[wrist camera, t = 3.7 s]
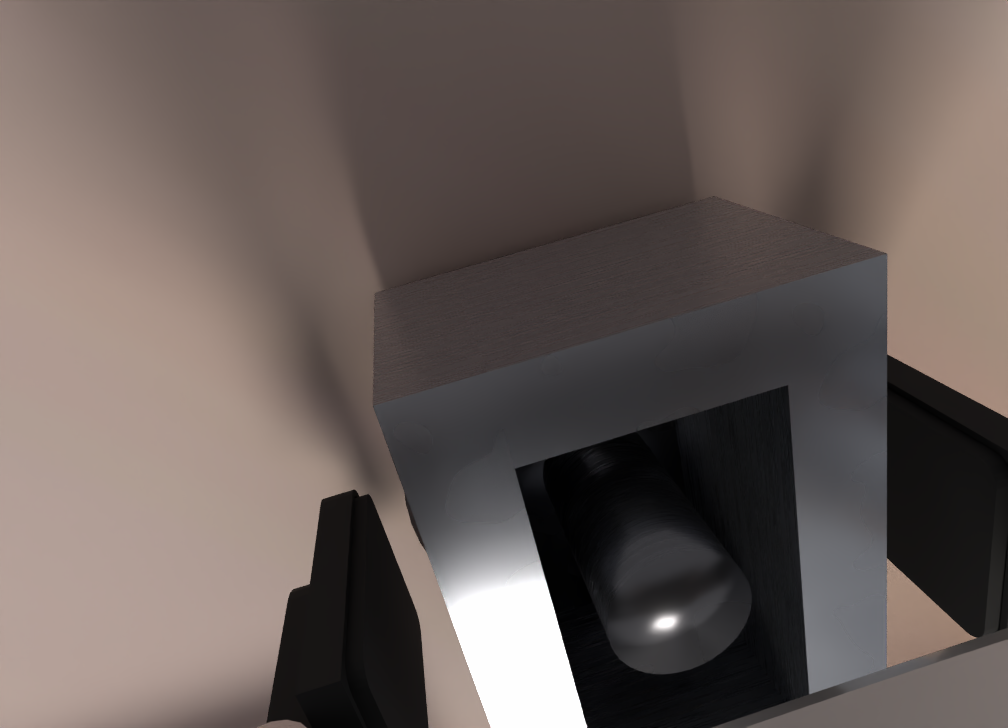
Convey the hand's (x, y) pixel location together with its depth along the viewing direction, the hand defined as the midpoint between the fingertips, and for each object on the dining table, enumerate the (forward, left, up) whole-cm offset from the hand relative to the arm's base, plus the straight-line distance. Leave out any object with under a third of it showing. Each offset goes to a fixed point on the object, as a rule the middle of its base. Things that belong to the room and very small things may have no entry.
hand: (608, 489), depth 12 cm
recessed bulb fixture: (0, 0, -1) cm, 1 cm away
